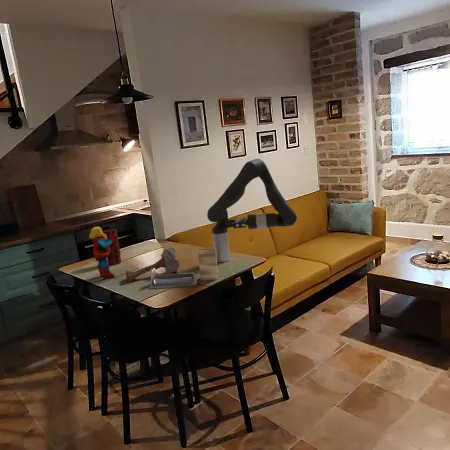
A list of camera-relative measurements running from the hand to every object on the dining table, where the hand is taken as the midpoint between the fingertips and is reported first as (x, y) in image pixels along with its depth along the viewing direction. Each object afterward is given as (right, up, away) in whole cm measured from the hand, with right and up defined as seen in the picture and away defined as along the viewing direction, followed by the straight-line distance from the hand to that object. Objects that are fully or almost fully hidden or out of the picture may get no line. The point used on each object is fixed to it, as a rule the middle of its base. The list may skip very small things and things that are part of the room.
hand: (225, 223), depth 209 cm
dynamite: (-71, -25, +51) cm, 91 cm away
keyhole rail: (-27, -31, +5) cm, 41 cm away
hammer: (-40, -30, +20) cm, 54 cm away
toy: (-66, -31, +25) cm, 77 cm away
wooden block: (-8, -29, +7) cm, 31 cm away
